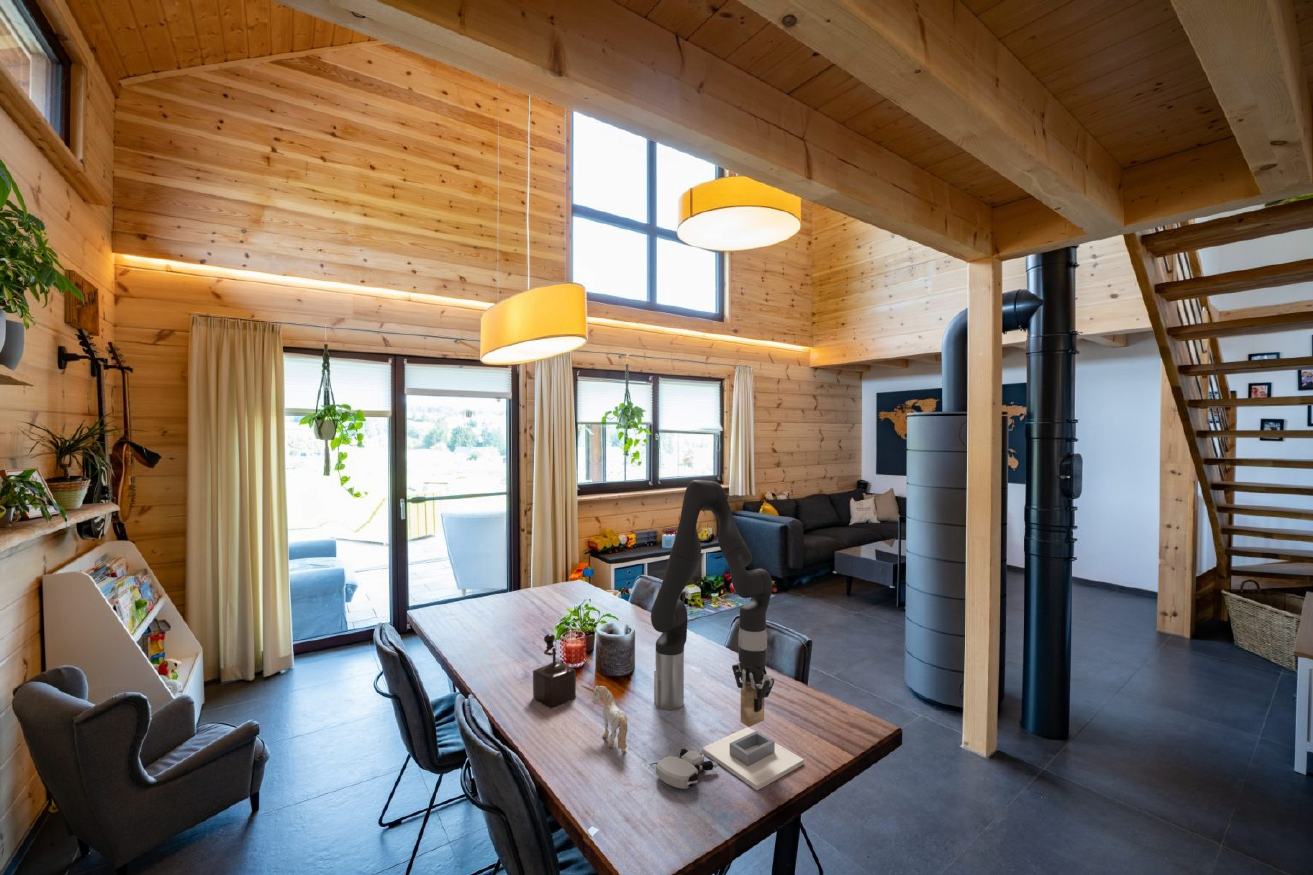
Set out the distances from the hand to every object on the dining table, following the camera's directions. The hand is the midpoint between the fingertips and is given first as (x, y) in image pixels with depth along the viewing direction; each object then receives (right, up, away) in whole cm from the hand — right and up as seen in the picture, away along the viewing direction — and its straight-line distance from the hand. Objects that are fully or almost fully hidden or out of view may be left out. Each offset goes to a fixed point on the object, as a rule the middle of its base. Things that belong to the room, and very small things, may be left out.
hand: (752, 708), depth 145 cm
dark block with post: (-61, -13, +35) cm, 72 cm away
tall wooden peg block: (0, -3, 0) cm, 3 cm away
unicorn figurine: (-41, -13, +7) cm, 44 cm away
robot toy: (-19, -14, -8) cm, 24 cm away
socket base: (0, -13, 0) cm, 13 cm away
